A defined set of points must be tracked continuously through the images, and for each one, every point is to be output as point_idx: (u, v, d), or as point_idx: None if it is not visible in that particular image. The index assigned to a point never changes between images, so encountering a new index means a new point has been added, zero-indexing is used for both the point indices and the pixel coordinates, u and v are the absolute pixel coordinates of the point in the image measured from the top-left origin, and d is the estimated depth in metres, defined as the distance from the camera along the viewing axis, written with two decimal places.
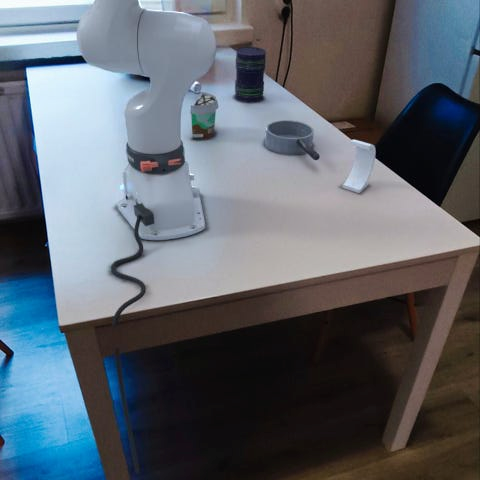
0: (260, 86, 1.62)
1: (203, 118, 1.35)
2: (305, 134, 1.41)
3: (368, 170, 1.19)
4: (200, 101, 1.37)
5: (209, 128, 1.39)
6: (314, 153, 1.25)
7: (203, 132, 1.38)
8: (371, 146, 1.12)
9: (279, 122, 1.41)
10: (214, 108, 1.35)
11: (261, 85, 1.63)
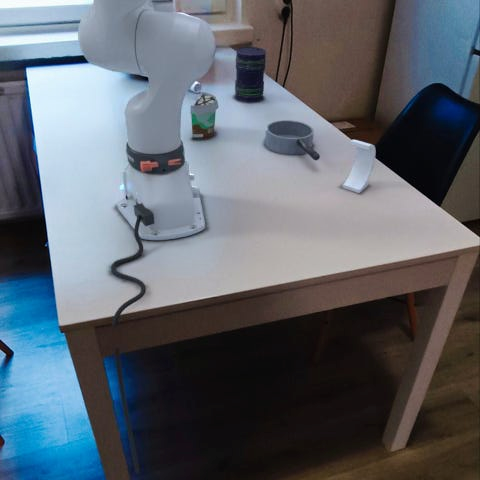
0: (260, 86, 1.62)
1: (203, 118, 1.35)
2: (305, 134, 1.41)
3: (368, 170, 1.19)
4: (200, 101, 1.37)
5: (209, 128, 1.39)
6: (314, 153, 1.25)
7: (203, 132, 1.38)
8: (371, 146, 1.12)
9: (279, 122, 1.41)
10: (214, 108, 1.35)
11: (261, 85, 1.63)
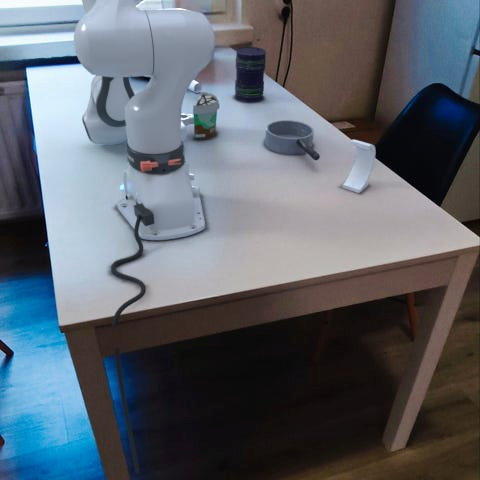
0: (260, 86, 1.62)
1: (206, 118, 1.35)
2: (305, 134, 1.41)
3: (368, 170, 1.19)
4: (201, 101, 1.37)
5: (211, 128, 1.39)
6: (314, 153, 1.25)
7: (205, 132, 1.38)
8: (371, 146, 1.12)
9: (279, 122, 1.41)
10: (216, 108, 1.36)
11: (261, 85, 1.63)
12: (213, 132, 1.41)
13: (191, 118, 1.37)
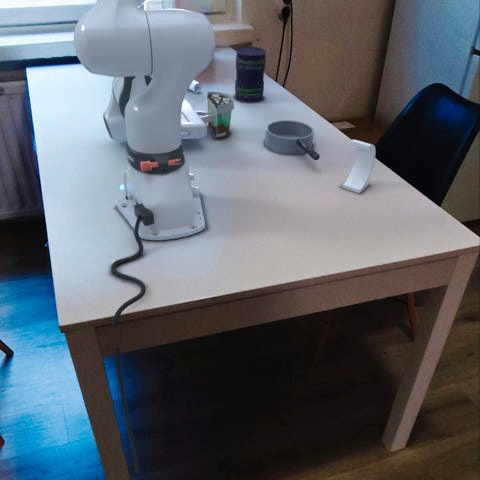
0: (260, 86, 1.62)
1: (227, 116, 1.37)
2: (305, 134, 1.41)
3: (368, 170, 1.19)
4: (216, 101, 1.37)
5: (229, 125, 1.41)
6: (314, 153, 1.25)
7: (226, 130, 1.40)
8: (371, 146, 1.12)
9: (279, 122, 1.41)
10: (233, 105, 1.38)
11: (261, 85, 1.63)
12: None
13: (210, 116, 1.38)
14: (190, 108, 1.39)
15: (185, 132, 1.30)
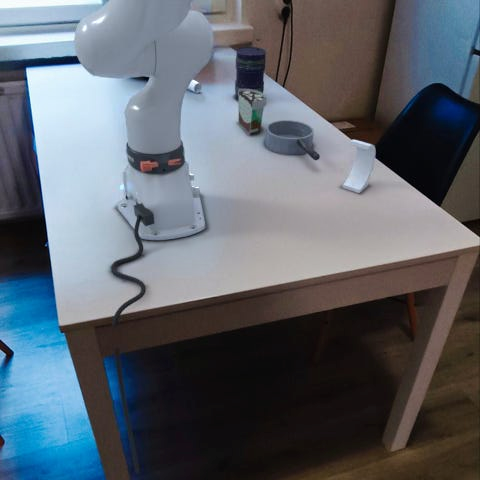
0: (260, 86, 1.62)
1: (260, 112, 1.40)
2: (305, 134, 1.41)
3: (368, 170, 1.19)
4: (249, 97, 1.41)
5: (261, 121, 1.44)
6: (314, 153, 1.25)
7: (258, 126, 1.43)
8: (371, 146, 1.12)
9: (279, 122, 1.41)
10: None
11: (261, 85, 1.63)
12: None
13: None
14: None
15: None
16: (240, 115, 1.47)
